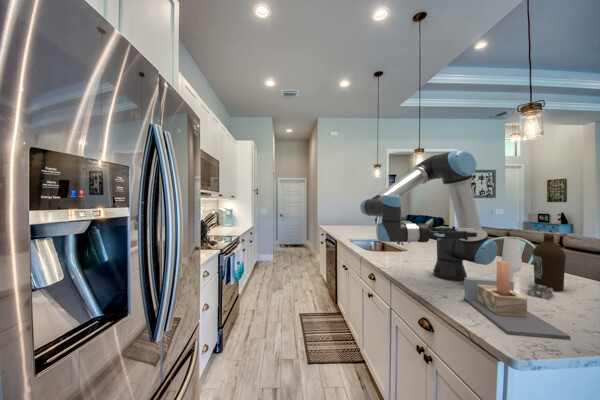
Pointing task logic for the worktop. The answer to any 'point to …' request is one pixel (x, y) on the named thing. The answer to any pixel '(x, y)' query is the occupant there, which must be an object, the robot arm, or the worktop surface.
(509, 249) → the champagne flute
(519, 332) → the mat
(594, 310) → the worktop surface
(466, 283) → the wall
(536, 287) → the egg carton
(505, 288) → the dowel
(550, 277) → the olive oil
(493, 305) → the socket block
